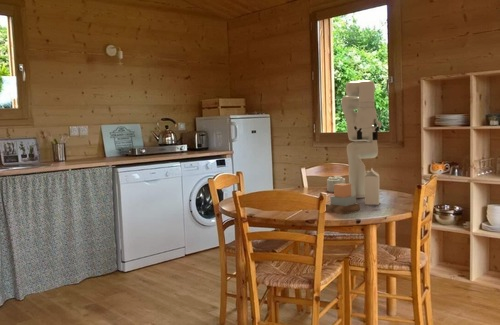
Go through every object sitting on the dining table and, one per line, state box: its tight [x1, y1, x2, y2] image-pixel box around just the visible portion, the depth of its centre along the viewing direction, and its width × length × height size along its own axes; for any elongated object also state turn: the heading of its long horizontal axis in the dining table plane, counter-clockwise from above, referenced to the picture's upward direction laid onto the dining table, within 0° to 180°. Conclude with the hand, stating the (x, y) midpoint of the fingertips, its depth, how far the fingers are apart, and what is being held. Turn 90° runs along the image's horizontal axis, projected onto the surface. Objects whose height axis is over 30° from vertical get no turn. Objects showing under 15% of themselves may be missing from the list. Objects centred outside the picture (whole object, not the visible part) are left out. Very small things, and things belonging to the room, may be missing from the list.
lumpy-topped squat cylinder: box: [326, 175, 346, 193], centre depth 304 cm, size 10×13×9 cm
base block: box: [325, 202, 361, 215], centre depth 240 cm, size 12×12×4 cm
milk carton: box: [364, 167, 381, 206], centre depth 255 cm, size 7×7×19 cm
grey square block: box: [330, 195, 357, 206], centre depth 240 cm, size 9×9×4 cm
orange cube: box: [333, 182, 351, 198], centre depth 239 cm, size 6×6×6 cm
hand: (367, 139), depth 243 cm, fingers open, 9 cm apart
